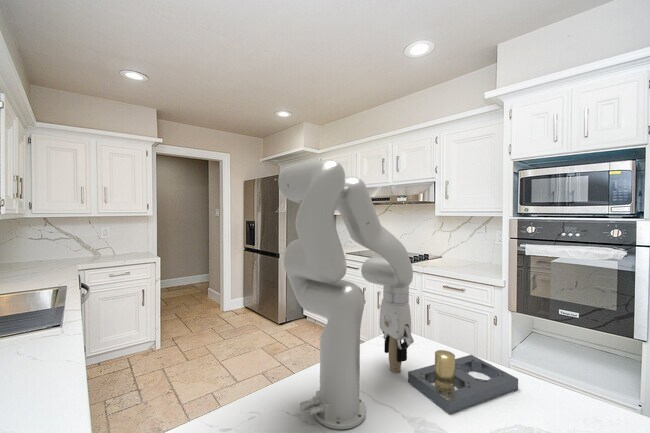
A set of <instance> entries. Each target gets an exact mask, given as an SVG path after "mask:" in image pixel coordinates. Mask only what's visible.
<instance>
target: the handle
mask: <svg viewBox="0 0 650 433" xmlns="http://www.w3.org/2000/svg"><path fill="white" fill-rule="evenodd" d="M385 326H387V327H389V323H387V322H386V321H385ZM402 340H403V339H402ZM402 340H401V342H402ZM402 343H403V342H402ZM397 348H399V347H398V342H397V340H396V339H394V338H393V337H391V336H390V340H389V353H388V363H389V370H390V371H391V372H393V373H394V374H397V373H400V372H401V370H402V369H401V368H402V367H401V366H402V362H403V361H402V362H397Z"/></svg>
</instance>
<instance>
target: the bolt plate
mask: <svg viewBox="0 0 650 433" xmlns="http://www.w3.org/2000/svg"><path fill="white" fill-rule="evenodd" d="M469 371H470V372H475V373H480V372H481V374H483V375H485V376H487V377H488V379H482V378H477V377H474V376H473V375H471V374H469V373H470V372H469ZM468 372H469V373H468ZM407 382H408V384H410V385H411V386H412V387H413V388H415V389H416V390H417V391H419V392H420V393H422V394H423V395H424V396H425V397H427V398H428V399H429V400H431V401H432V402H433V403H434V404H435V405H436V406H438V407H439V408H440V409H442V410H443V411H444V412H446V413H447V415H453V414H455V413H458V412H461V411H463V410H464V411H465V410H467V409H469V408H472V407H475V406H478V405H480V404H483V403H485V402H488V401H491V400H494V399H497V398H499V397H501V396H504V395H508V394H510V393H513V392H516V391H518V390H519V378H518V377H515V376H514V375H512V374H510V373H509V372H506V371H504V370H502V369H501V368H498V367H496V366H495V365H493V364H491V363H489V362H486V361H484V360H482V359H481V358H478V357H477V356H475V355H473V354H469V355H465V356H461V357H458V358H455V388H457V389H455V391H451V392H449V391H444V390H439V389H438V388H436V387H435V384H434V385H433V383H435V363H434V364H431V365H428V366H424V367H419V368H417V369H413V370H412V369H411V370H409V371H407Z"/></svg>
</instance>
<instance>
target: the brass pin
mask: <svg viewBox="0 0 650 433" xmlns="http://www.w3.org/2000/svg"><path fill="white" fill-rule="evenodd" d="M455 359H456V355H455V353H453V352H452V351H448V350H446V349H445V350H444V349H440V350H436V351H435V352H434V364H435V382H434V386H435V387H436V388H438V389H439V390H444V391H449V392H451V391H455V390H456V389H455V388H456V387H455Z"/></svg>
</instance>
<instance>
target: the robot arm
mask: <svg viewBox="0 0 650 433" xmlns="http://www.w3.org/2000/svg"><path fill="white" fill-rule="evenodd" d="M277 183H278V188H279V190H280V192H281V194H282V195H283V197H285V198H286V199H287V200H289V201H291V202H295V203H296V204H300V206H299V207H298V210H297V212H296V217H295V231H296V234H297V239H295V240H292V241H291V242H290V243H288V245H287V246H286V249H285V251H284V255H283V267H284V270H285V274H286V276H287V278H288V280H289V284H290V286H291V288H292V291H293V293H294V296H295V297H296V300H297V302H298V304H299V306H301V308H302V309H304V311H307V312H309V313H311V314H314V315H318V316H320V317H323V318H326V319H327V322H326V325H325V327H324V328H323V329H322V332H321V334H320V338H319V390H317V391H315V396H313V397H312V399H308V400H304V401H300V402H299V403H300V404H299V406H300V410H301V412H305V411H309V415H310V416H314V418H315V419H316V420H317V422H319V423H320V424H321V425H323V426H324V427H327V428H330V429H333V430H349V429H353V428H355V427H357V426H359V425H361V423H363V421H364V420H365V418H366V415H367V413H366V412H367V408H366V404H365V402H364V401H363V400H362V399H361V398H360V386H361V385H360V383H361V382H360V379H361V377H360V375H361V374H360V373H361V371H360V370H361V366H360V364H361V361H360V360H361V359H360V358H361V356H360V355H361V345H360V344H361V329H362V328H361V327H362V320H363V313H364V310H365V303H366V302H365V301H366V300H365V298H366V297H365V294H364V291H363V290H362V289H361V287H360V286H359V285H357V284H355V283H353V282H351V281H348V280H345V279H343V278H344V277H345V275H346V273H347V270H348V269H347V268H348V266H347V261H346V260H347V259H346V256H345V253H344V249H343V246H342V243H341V240H340V237H339V233H338V231H337V227H336V222H335V212H336V211H337V212H339V214H340V216H341V218H342V221H343V223H344V225H345V227H346V230H347V232H348V234H349V237H350V238H351V239H352V240H353V242H354V243H356V244H358V245H360V246H362V247H363V248H366V249H368V250H370V251H372V252H373V253H376V254H378V255H379V257H378V256H372V257H369V258H367V259H366V260H365V261H364V262H363V263H362V265H361V269H360V272H361V276H362V278H363V279H364V281H367V282H368V283H371V284H375V285H380V286H383V292H382V293H383V294H382V300H381V304H380V311H379V330H381V331H382V333H383V336H382V337H383V340H384V348H383V350H384V353H385V354H389V340H390V336H391V337H393V338H394V339H396V340H397V342H398V347H399V348H397V362H405V361H407V359H408V348H409V346H411V345H412V344H413V343H414V342H415V341H414V337H413V336H412V316H411V315H412V314H411V307H410V306H411V305H410V295H409V294H410V284H412V281H413V278H414V270H413V265H412V264H413V263H412V261H411V258H410V255H409V253H408V250H407V249H406V247H405V245H404V244H403V243H402V242H401V241H400V240H399V239H398V238H397V237H396V236H395V234H394V235H393V234H392V232H390V231H389V229H387V228H386V227H384V226H382V224H381V222H380V218H379V216H378V214H377V212H376V209H375V206H374V204H373V201H372V198H371V195H370V193H369V191H368V187H367V186H366V184H365V183H366V182H364V181H363V180H362V179H361V178H359V177H356V176H346V173H345V170H344V167H343V165H342V164H341V163H339V162H338V161H336V160H333V159H332V160H331V159H319V160H313V161H308V162H301V163H295V164H291V165H290V164H289V165H287V166H286V167H284V168H283V169H282V170H281V172H280V173H279V175H278V182H277ZM380 256H381V257H380ZM385 321H386V322H387V323H389V327H387V326H385ZM401 340H403V342H401Z"/></svg>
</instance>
